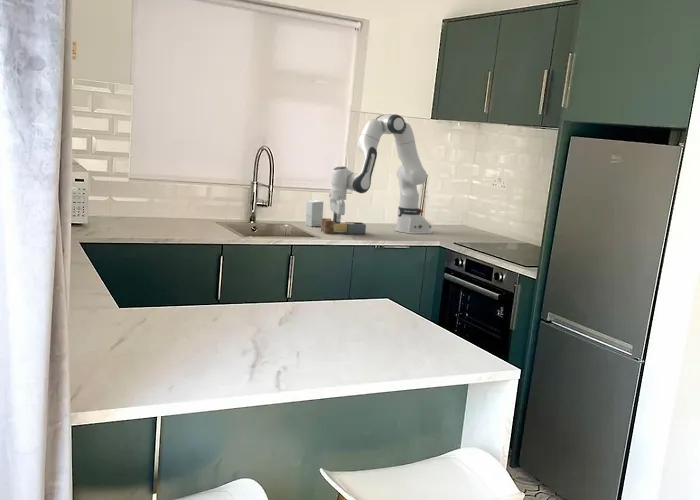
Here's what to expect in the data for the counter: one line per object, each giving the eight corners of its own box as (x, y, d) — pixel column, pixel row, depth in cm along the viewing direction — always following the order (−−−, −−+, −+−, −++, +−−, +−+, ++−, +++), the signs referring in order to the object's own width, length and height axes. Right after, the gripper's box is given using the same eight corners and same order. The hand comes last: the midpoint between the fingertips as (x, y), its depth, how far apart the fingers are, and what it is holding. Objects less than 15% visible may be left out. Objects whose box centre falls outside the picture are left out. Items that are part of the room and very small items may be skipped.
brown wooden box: (329, 231, 399) (330, 218, 398) (333, 234, 391) (334, 221, 389) (320, 230, 398) (321, 218, 397) (324, 233, 389) (325, 220, 388)
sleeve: (361, 232, 404) (362, 222, 403) (365, 234, 396) (366, 224, 395) (344, 231, 401) (345, 221, 400) (348, 234, 393) (348, 224, 392)
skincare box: (316, 224, 419) (318, 199, 417) (322, 226, 415) (324, 201, 412) (304, 225, 414) (306, 200, 411) (311, 227, 410) (312, 201, 407)
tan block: (352, 230, 400) (353, 214, 399) (354, 232, 396) (355, 216, 394) (328, 230, 397) (329, 214, 395) (330, 231, 392) (331, 215, 391)
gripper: (348, 198, 383) (346, 224, 385) (339, 194, 402) (337, 218, 405) (337, 198, 381) (335, 223, 384) (328, 193, 401) (327, 217, 403)
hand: (336, 220), depth 394 cm, fingers closed on tan block, 4 cm apart
